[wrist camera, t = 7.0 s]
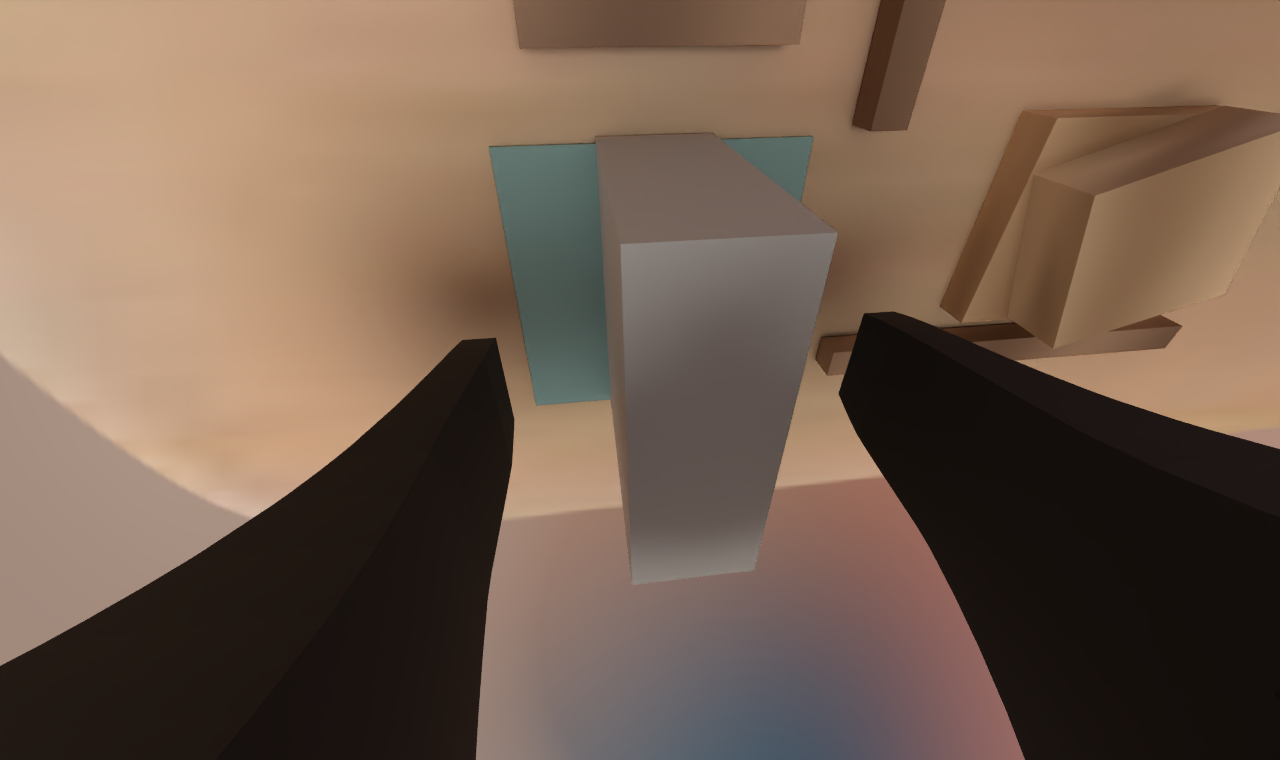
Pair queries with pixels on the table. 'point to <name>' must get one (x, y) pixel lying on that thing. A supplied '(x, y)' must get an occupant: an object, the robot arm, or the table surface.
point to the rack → (904, 34)
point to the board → (702, 343)
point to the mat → (582, 253)
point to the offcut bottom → (1001, 220)
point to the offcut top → (1144, 225)
